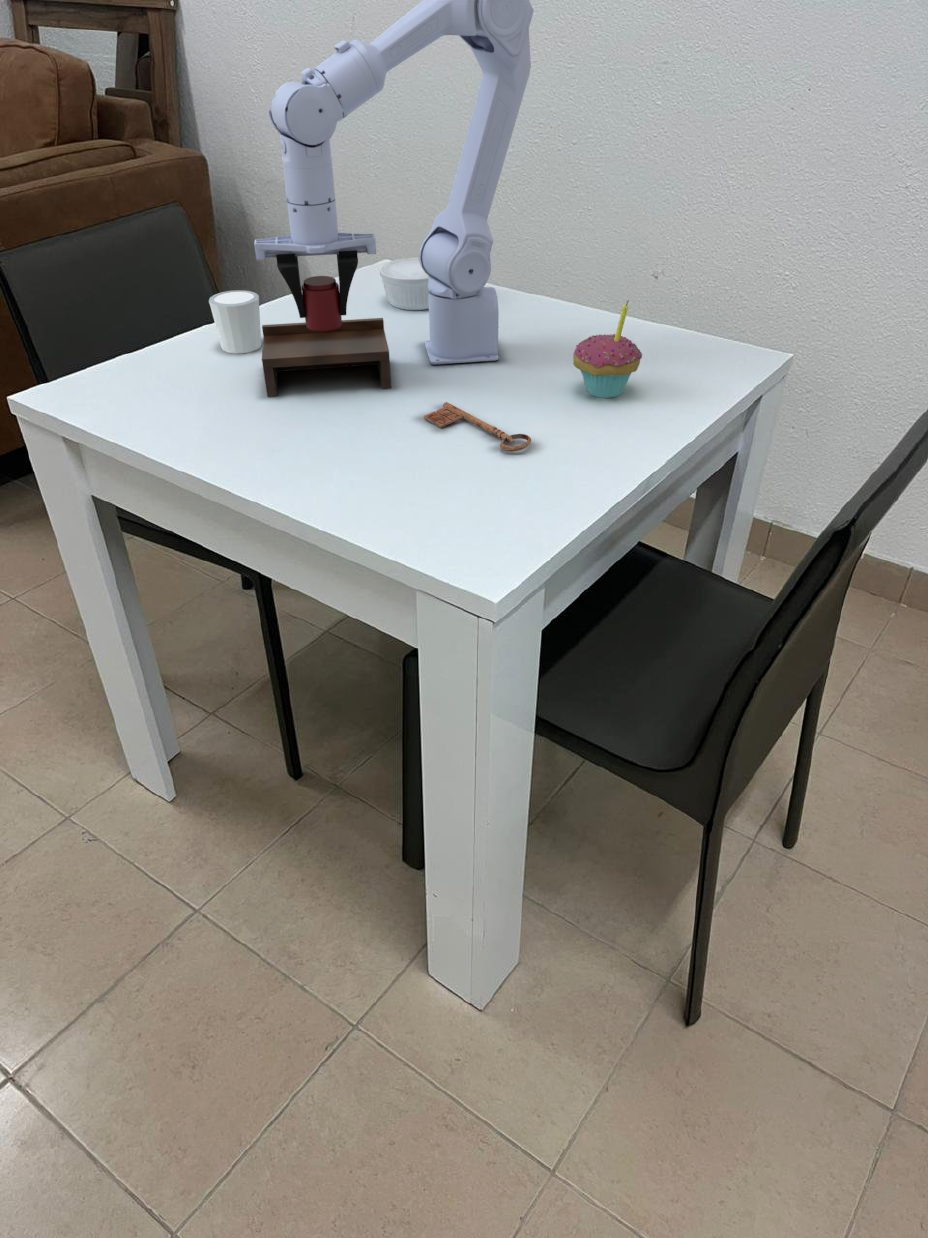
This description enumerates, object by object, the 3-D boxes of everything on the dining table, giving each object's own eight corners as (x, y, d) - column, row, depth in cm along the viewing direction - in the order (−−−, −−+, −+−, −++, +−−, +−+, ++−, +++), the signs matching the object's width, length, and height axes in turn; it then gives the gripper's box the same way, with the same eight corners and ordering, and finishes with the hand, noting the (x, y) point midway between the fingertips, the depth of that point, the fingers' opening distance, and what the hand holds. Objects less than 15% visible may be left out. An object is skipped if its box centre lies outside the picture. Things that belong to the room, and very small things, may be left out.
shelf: (385, 362, 127) (383, 317, 124) (391, 388, 120) (388, 341, 116) (268, 369, 125) (262, 324, 122) (267, 396, 118) (260, 349, 115)
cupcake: (645, 384, 121) (655, 291, 113) (626, 409, 114) (636, 313, 107) (582, 373, 123) (589, 282, 116) (560, 397, 117) (566, 303, 110)
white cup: (271, 338, 135) (264, 289, 131) (258, 355, 129) (250, 305, 125) (225, 336, 136) (217, 288, 131) (210, 354, 130) (201, 304, 126)
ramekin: (374, 311, 144) (372, 276, 141) (390, 288, 152) (388, 255, 149) (444, 314, 142) (444, 279, 139) (457, 291, 151) (456, 258, 148)
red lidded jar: (341, 317, 120) (337, 273, 117) (342, 330, 117) (338, 285, 113) (305, 319, 120) (300, 275, 116) (306, 332, 116) (301, 287, 113)
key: (421, 419, 113) (498, 463, 104) (420, 412, 113) (498, 455, 103) (458, 402, 116) (537, 444, 106) (457, 396, 115) (537, 437, 106)
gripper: (247, 210, 105) (264, 328, 113) (374, 204, 107) (382, 321, 115) (249, 196, 111) (265, 309, 119) (370, 190, 112) (377, 302, 121)
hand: (322, 313), depth 117 cm, fingers closed on red lidded jar, 4 cm apart
